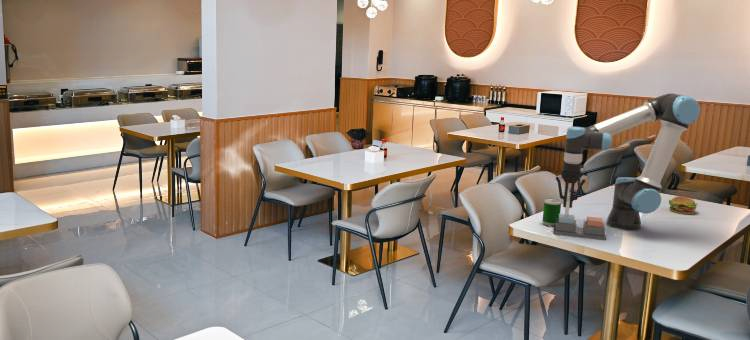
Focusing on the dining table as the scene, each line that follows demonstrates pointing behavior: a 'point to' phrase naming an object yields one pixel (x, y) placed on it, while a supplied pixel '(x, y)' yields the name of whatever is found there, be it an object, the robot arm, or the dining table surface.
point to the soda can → (551, 211)
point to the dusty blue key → (566, 219)
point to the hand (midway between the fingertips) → (566, 214)
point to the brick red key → (594, 222)
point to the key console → (579, 230)
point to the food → (682, 205)
